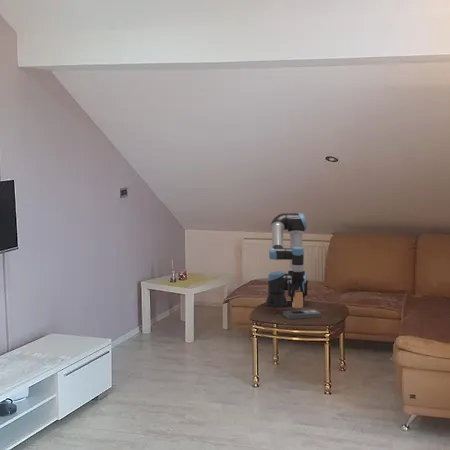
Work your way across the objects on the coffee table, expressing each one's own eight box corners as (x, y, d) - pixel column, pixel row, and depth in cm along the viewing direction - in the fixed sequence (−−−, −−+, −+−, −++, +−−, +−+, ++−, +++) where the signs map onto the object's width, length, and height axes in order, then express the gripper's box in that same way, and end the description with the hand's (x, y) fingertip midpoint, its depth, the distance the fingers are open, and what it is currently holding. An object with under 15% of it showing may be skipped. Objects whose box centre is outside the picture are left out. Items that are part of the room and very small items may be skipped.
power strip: (282, 314, 449) (282, 310, 449) (314, 312, 454) (314, 309, 454) (288, 319, 438) (288, 315, 438) (321, 317, 443) (321, 313, 442)
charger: (292, 306, 447) (292, 290, 446) (299, 306, 448) (300, 290, 447) (295, 308, 442) (295, 292, 441) (302, 307, 443) (302, 291, 442)
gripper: (286, 272, 437) (286, 308, 439) (313, 271, 441) (312, 307, 443) (282, 270, 444) (282, 306, 446) (309, 269, 448) (308, 304, 450)
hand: (297, 306), depth 445 cm, fingers closed on charger, 5 cm apart
